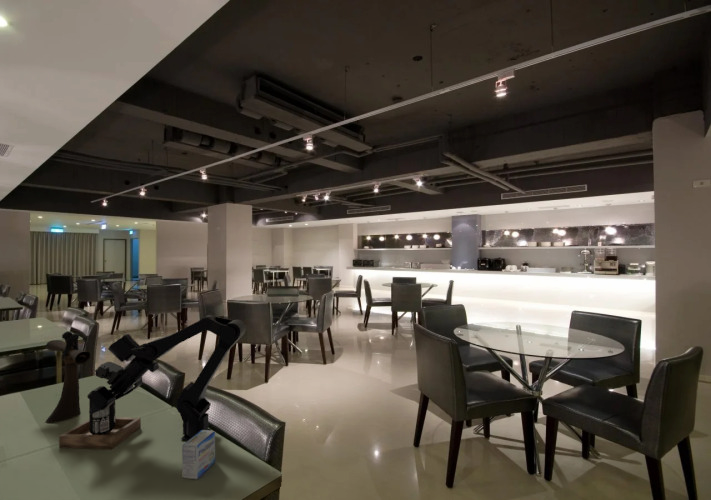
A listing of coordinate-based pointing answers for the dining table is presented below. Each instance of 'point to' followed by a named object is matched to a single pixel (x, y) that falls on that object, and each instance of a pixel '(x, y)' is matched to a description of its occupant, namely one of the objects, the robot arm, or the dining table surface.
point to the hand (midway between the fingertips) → (98, 408)
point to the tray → (110, 440)
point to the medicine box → (198, 454)
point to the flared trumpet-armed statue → (68, 376)
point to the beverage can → (102, 420)
